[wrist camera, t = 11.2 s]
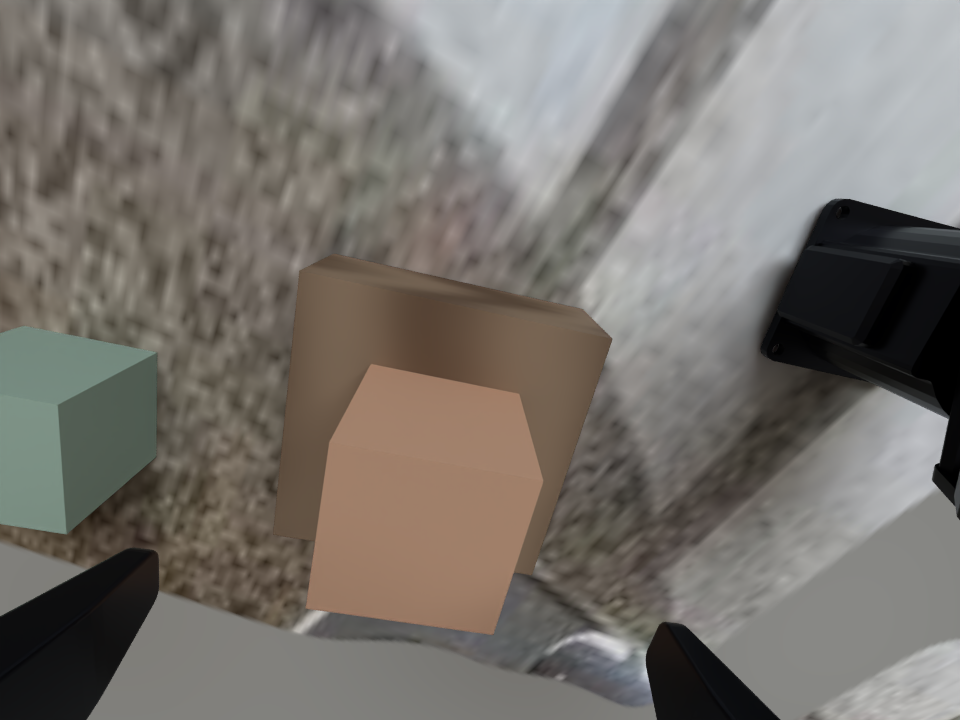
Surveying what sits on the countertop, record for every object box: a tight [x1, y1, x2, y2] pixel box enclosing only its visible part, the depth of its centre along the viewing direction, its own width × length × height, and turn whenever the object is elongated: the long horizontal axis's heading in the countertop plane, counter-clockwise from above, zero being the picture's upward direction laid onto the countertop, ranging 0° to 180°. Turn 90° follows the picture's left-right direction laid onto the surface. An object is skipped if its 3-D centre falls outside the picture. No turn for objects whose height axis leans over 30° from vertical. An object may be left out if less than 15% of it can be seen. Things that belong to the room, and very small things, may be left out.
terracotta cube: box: [306, 364, 543, 635], centre depth 14 cm, size 5×5×5 cm
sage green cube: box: [0, 326, 157, 534], centre depth 17 cm, size 5×5×5 cm
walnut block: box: [273, 254, 612, 575], centre depth 18 cm, size 10×10×4 cm
